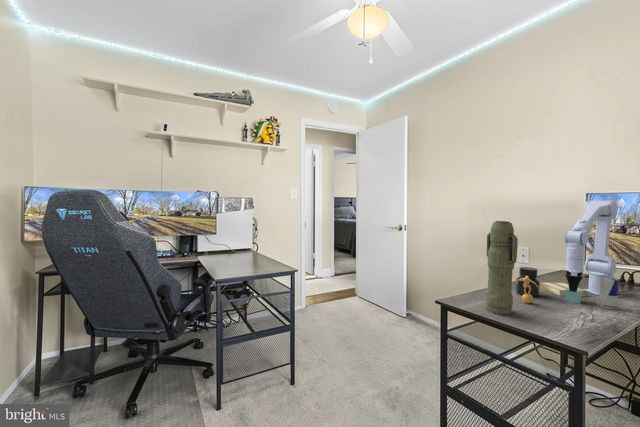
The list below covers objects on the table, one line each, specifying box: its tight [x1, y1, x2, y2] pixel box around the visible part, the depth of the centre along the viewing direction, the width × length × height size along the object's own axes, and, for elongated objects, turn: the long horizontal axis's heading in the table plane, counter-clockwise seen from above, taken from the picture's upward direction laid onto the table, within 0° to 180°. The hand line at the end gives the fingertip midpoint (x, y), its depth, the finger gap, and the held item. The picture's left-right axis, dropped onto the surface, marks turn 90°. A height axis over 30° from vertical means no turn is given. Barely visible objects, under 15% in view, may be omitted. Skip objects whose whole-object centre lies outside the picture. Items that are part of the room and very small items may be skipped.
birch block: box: [540, 282, 588, 297], centre depth 139 cm, size 12×12×3 cm
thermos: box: [485, 220, 518, 316], centre depth 113 cm, size 9×12×35 cm
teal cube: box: [564, 287, 582, 304], centre depth 126 cm, size 5×5×5 cm
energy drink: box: [598, 277, 620, 310], centre depth 119 cm, size 5×5×12 cm
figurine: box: [515, 276, 540, 304], centre depth 122 cm, size 8×6×12 cm
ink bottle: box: [515, 266, 541, 298], centre depth 134 cm, size 10×9×12 cm
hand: (573, 289), depth 126 cm, fingers open, 7 cm apart
